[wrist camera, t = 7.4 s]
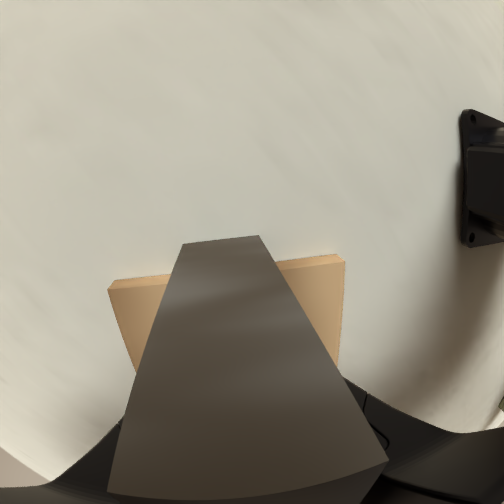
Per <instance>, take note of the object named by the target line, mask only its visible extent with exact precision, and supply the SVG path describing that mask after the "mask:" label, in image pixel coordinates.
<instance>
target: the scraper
mask: <svg viewBox="0 0 504 504" xmlns="http://www.w3.org/2000/svg"><path fill="white" fill-rule="evenodd" d="M344 276H345V261H344V260H343V259H341V258H340V257H339V256H338V255H336V254H333V255H325V256H318V257H310V258H302V259H294V260H287V261H279V262H274V260H273V258H272V257H271V255H270V253H269V252H268V250H267V248H266V247H265V245H264V243H263V242H262V240H261V238H260V237H259V235H256V236H247V237H239V238H230V239H221V240H213V241H204V242H196V243H188V244H183V246H182V248H181V251H180V253H179V256H178V258H177V261H176V263H175V266H174V268H173V271H172V273H171V274H169V275H160V276H151V277H141V278H132V279H123V280H115V281H114V282H113V283H112V284H111V286H110V287H109V288H108V289H107V290H108V294H109V297H110V300H111V304H112V307H113V310H114V313H115V316H116V320H117V323H118V326H119V328H120V331H121V334H122V337H123V340H124V343H125V345H126V348H127V351H128V353H129V356H130V358H131V361H132V363H133V366H134V368H135V371H136V373H137V374H136V377H135V380H134V384H133V387H132V390H131V394H130V397H129V401H128V404H127V408H126V411H125V415H124V419H123V423H122V427H121V430H120V434H119V438H118V442H117V447H116V451H115V455H114V460H113V464H112V469H111V473H110V478H109V483H108V488H107V492H108V493H109V494H110V495H111V496H112V497H114V498H115V499H116V500H117V501H119V502H120V503H121V504H359V503H360V502H361V501H362V500H363V498H364V497H365V495H366V494H367V493H368V491H369V490H370V489H371V487H372V486H373V484H374V483H375V481H376V480H377V478H378V477H379V475H380V474H381V472H382V471H383V469H384V468H385V466H386V464H387V463H388V461H389V459H388V457H387V455H386V453H385V451H384V450H383V448H382V446H381V444H380V442H379V441H378V439H377V437H376V435H375V433H374V432H373V430H372V428H371V426H370V425H369V423H368V421H367V419H366V417H365V416H364V414H363V412H362V410H361V409H360V407H359V405H358V403H357V402H356V400H355V398H354V396H353V395H352V393H351V391H350V389H349V388H348V386H347V384H346V382H345V381H344V379H343V377H342V375H341V374H340V372H339V370H338V368H337V362H338V354H339V344H340V334H341V323H342V310H343V295H344Z"/></svg>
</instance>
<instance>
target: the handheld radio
mask: <svg viewBox="0 0 504 504" xmlns="http://www.w3.org/2000/svg"><path fill="white" fill-rule="evenodd" d="M499 408H500V409H501V410H502V411H503V412H504V397H503V399H502V401H501V403H500V405H499Z"/></svg>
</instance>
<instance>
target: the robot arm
mask: <svg viewBox="0 0 504 504" xmlns="http://www.w3.org/2000/svg"><path fill="white" fill-rule="evenodd" d="M461 119H462V130H463V145H464V201H463V216H462V227H461V243H462V244H463V245H464V246H466V247H469V248H472V247H478V246H484V245H489V244H494V243H500V242H504V123H503V122H501V121H499V120H497V119H495V118H492V117H490V116H488V115H485V114H483V113H480V112H478V111H475V110H473V109H467V110H463V111H462V114H461ZM342 377H343V376H342ZM343 379H344V381H345V382H346V384H347V386H348V388H349V389H350V391H351V393H352V395H353V396H354V398H355V400H356V402H357V403H358V405H359V407H360V409H361V410H362V412H363V414H364V416H365V417H366V419H367V421H368V423H369V425H370V426H371V428H372V430H373V432H374V433H375V435H376V437H377V439H378V441H379V442H380V444H381V446H382V448H383V450H384V451H385V453H386V455H387V457H388V459H389V461H388V463H387V464H386V466H385V468H384V469H383V471H382V472H381V474H380V475H379V477H378V478H377V480H376V481H375V483H374V484H373V486H372V487H371V489H370V490H369V491H368V493H367V494H366V495H365V497H364V498H363V500H362V501H361V502H360V503H359V504H504V427H500V428H494V429H489V430H484V431H478V432H472V433H454V432H450V431H446V430H443V429H441V428H438V427H436V426H433V425H431V424H429V423H426V422H424V421H421V420H419V419H417V418H414V417H412V416H410V415H408V414H405V413H403V412H401V411H399V410H397V409H395V408H393V407H391V406H389V405H388V404H386V403H384V402H382V401H381V400H379V399H377V398H376V397H374V396H372V395H371V394H367V392H366V391H364V390H363V389H361V388H360V387H358V386H356V385H355V384H353V383H352V382H350V381H349V380H347V379H346V378H344V377H343ZM123 419H124V416H123V417H122V418H121V419H120V421H119V422H118V424H119V425H118V424H116V425H115V426H114V427H113V428H112V429H111V430H110V431H109V432H108V434H107V435H106V436H105V437H104V438H103V439H102V440H101V441H100V442H99V443H98V444H97V445H95V446H94V447H93V448H92V449H91V450H90V451H89V452H88V453H87V454H85V455H84V456H83V457H82V458H81V459H80V460H78V461H77V462H76V463H75V464H74V465H72V466H71V467H70V468H69V469H67V470H66V471H65V472H64V473H63V474H61V475H60V476H59V477H57V478H56V479H55V480H53V481H51V482H49V483H47V484H43V485H39V486H29V487H5V488H0V504H121V503H120V502H119V501H117V500H116V499H115V498H114V497H112V496H111V495H110V494H109V493H108V492H107V488H108V483H109V478H110V473H111V469H112V464H113V460H114V455H115V451H116V447H117V442H118V438H119V434H120V430H121V427H122V423H123Z"/></svg>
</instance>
